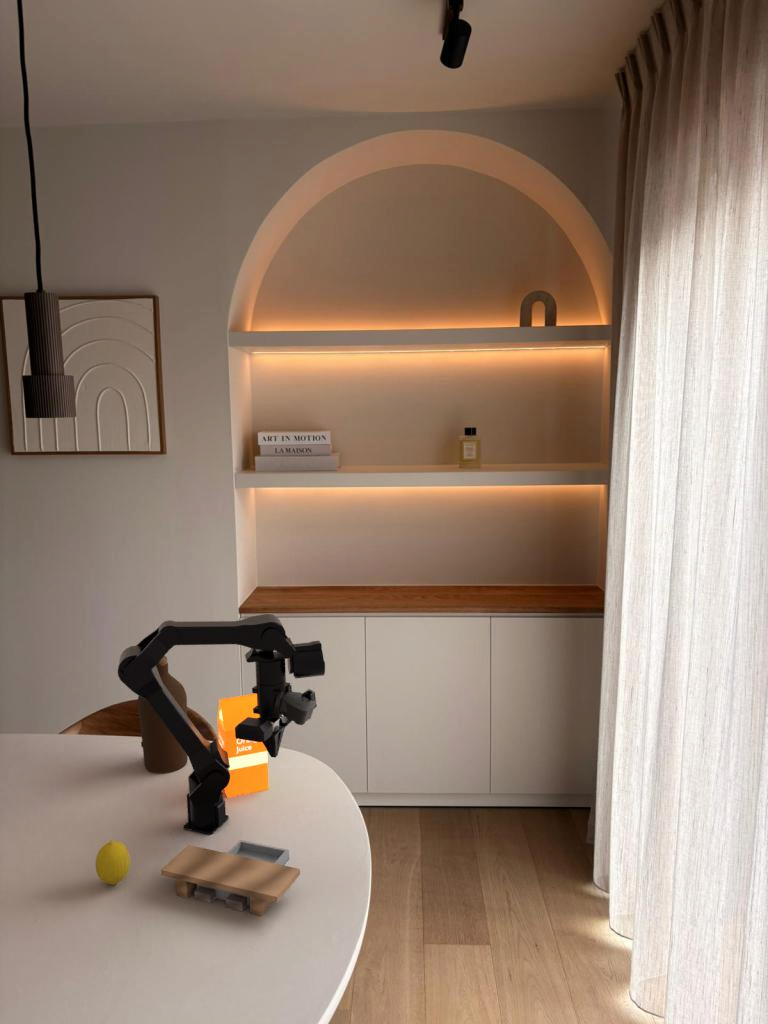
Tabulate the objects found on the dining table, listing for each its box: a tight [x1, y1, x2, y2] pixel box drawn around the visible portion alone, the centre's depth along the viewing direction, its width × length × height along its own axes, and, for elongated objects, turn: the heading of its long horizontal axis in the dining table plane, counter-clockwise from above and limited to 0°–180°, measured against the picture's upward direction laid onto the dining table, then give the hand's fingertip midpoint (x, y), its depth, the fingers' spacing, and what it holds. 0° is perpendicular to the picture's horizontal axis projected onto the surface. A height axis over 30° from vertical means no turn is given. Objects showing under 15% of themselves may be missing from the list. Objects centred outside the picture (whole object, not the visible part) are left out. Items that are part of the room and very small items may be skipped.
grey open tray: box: [197, 839, 290, 907], centre depth 140 cm, size 10×14×2 cm
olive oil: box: [137, 655, 188, 774], centre depth 181 cm, size 11×11×25 cm
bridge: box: [160, 844, 301, 917], centre depth 136 cm, size 22×8×4 cm, turn 69°
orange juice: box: [216, 693, 270, 798], centre depth 171 cm, size 8×9×20 cm
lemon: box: [95, 840, 131, 886], centre depth 138 cm, size 6×6×8 cm
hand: (274, 756), depth 159 cm, fingers closed
